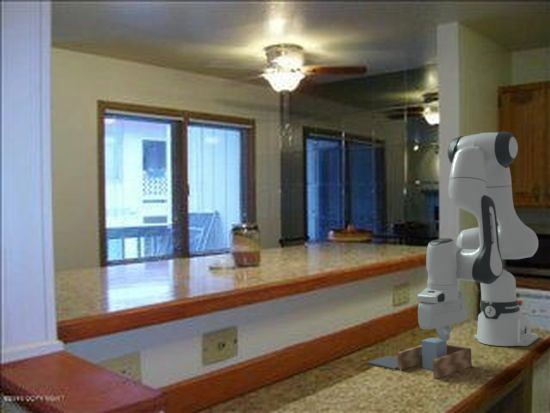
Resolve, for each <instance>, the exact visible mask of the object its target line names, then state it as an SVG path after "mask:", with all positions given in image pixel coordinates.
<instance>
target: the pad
mask: <svg viewBox="0 0 550 413" xmlns="http://www.w3.org/2000/svg"><path fill="white" fill-rule="evenodd" d="M366 364H367V365H370V366H375V367H378V368H382V367H384V368H383V369H387V368H389V369H388V370H391V369H396V370H398V369H397V368H398V356H397V357H396V356H392V355H385V356H382V357H379V358H375V359H372V360H370V361H367V363H366Z"/></svg>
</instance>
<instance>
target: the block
mask: <svg viewBox="0 0 550 413" xmlns="http://www.w3.org/2000/svg"><path fill="white" fill-rule="evenodd" d="M447 344H448V343H447V341H446V340H443V339H439V338H438V337H437V338H436V337H428V338H425V339H422V340H421V345H422V369H425V368H426V369H425V370H429V371H433V359H436V358H439V357H442V356H445V355H447Z"/></svg>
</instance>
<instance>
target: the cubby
mask: <svg viewBox="0 0 550 413" xmlns="http://www.w3.org/2000/svg"><path fill="white" fill-rule="evenodd" d="M446 344H447V355H445V356H442V357H439V358H436V359H433V370H432V371H433V374H432V375H433V378H434V379H436V380H438V379H441V378H442V377H446V376H449V375H451V374H453V373H456V372H459V371H462V370H464V369H466V368H467V369H468V368H469V367H472V366H473V365H472V363H473V362H472V360H473V359H472V348H470V347H465V346H460V345H459V346H458V345H453V344H448V343H446ZM396 355H397V357H398V369H401V370H400V371H403V370H402V369H404V370H406V368H407V369H409V368H408V367H410V368H412V366H413V367H415V365H416V366H418V364H419V365H420V364H421V363H422V344H419V345H417V346H414V347H411V348H407V349H404V350H401V351H397V354H396ZM398 369H397V370H398Z"/></svg>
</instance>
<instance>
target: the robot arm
mask: <svg viewBox="0 0 550 413" xmlns="http://www.w3.org/2000/svg"><path fill="white" fill-rule="evenodd" d="M518 146H519V145H518V141H517V138H516V136H515V135H514V134H513V133H511V132H507V131H500V132H479V133H476V134H469V135H465V136H464V135H461V136H458V137H454V138H453V139H451V141H450V142H449V144H448V147H447V157H448V161H449V162H450V164H451V167H450V172H449V178H448V189H447V190H448V192H447V193H448V197H449V199H450V201H451V203H453V205H455V206H456V207H457V208H459V209H460V210H463V211H466V212H468V213H470V214H472V215H473V216H474V217H475V218H476V220H477V224H478V226H476V227H471V228H467V229H463V230H461V231H460V233H459V234H458V235H457V239H456V244H455V240H454V239H453V238H450V237H449V238H442V237H441V238H436V239H432V240H430V241H429V242H428V245H427V248H426V260H425V261H426V263H425V264H426V265H425V266H426V271H427V281H426V287H425V288H424V289H423V290H422V291H421V292H419V293H418V294H417V296H416V297H417V298H416V299H417V302H419V304H418V306H417V321H418V325H419V327H420V329H422V330H430V331H432V330H434V329H436V333H437V335H438V339H443V340H446V342H448V341H450V340H451V336H450V334H451V332H452V329H453V326H452V325H454V324H459V323H463V322H466V321H467V319H468V318H467V317H468V314H467V305H466V300H465V297H464V295H463V294H462V292H461V291H460V290H459V282H458V281H463V282H476V283H479V284H480V292H481V293H480V294H481V299H480V303H479V306H480V308H479V309H480V311H481V312H480V313H479V314H478V316H477V328H476V329H477V334H474V339H476V340H477V341H478V342H479V343H481V344H484V345H489V346H498V347H528V346H529V345H531V344H533V343H534V342H535V341H537V340H538V339H539V338H540V337H539V334H537V333H536V332H535V333H534V332H532V328H531V326H532V325H531V322H530V319H528V318H527V317H526V316H525V315H524V314H523V313H522V312H521V308H520V307H521V306H522V307H523V305H524V304H523V303H524V302H523V299H517V284H516V283H517V282H516V277H515V276H514V274H512V273H511V272H509V271H507V270H505V269H504V265H503V260H521V259H526V258H532V257H534V255H535V254H536V253H537V251H538V248H539V239H538V236H537V234H536V232H535V231H534V230H533V229H532V228H530V227H529V226H527V225H526V224H525V223H524V222H523V221H522V220H521V219H520V218H519V216H518V215H517V212H516V209H515V207H514V200H513V198H514V197H513V187H512V185H513V184H512V176H511V169H510V165H511V164H513V162H514V161H515V160H516V158H517V155H518V152H519V151H518V150H519V147H518Z"/></svg>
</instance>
